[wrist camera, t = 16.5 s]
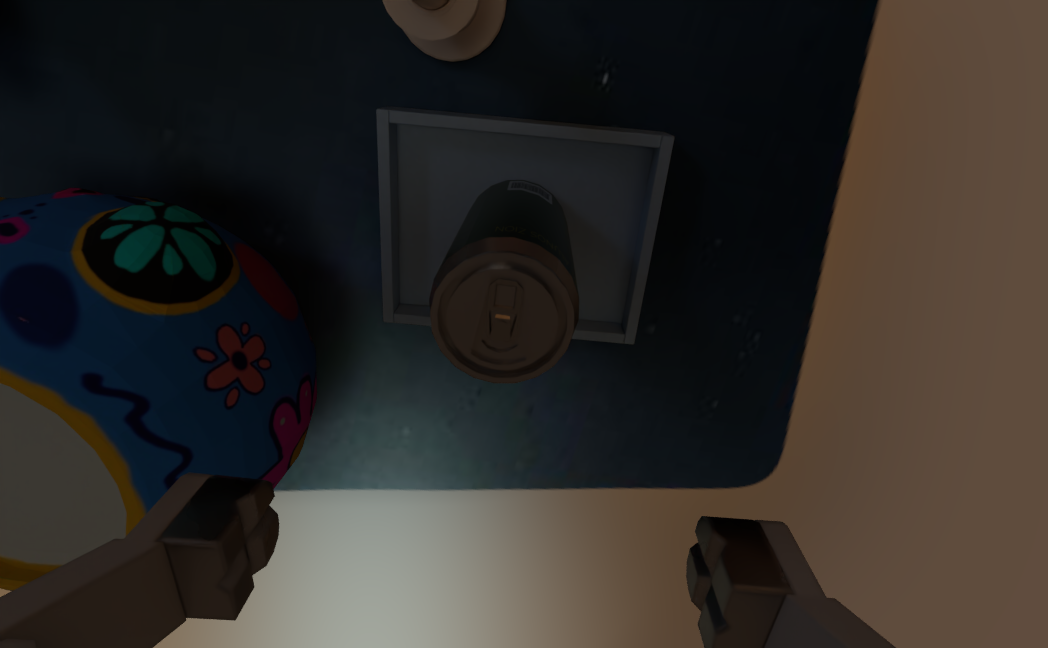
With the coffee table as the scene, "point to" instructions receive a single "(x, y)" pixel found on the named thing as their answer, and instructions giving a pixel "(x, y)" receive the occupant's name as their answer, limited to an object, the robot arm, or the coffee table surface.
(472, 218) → the beer can
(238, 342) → the ceramic pot
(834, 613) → the robot arm
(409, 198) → the gray tray
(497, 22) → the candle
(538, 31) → the coffee table surface
